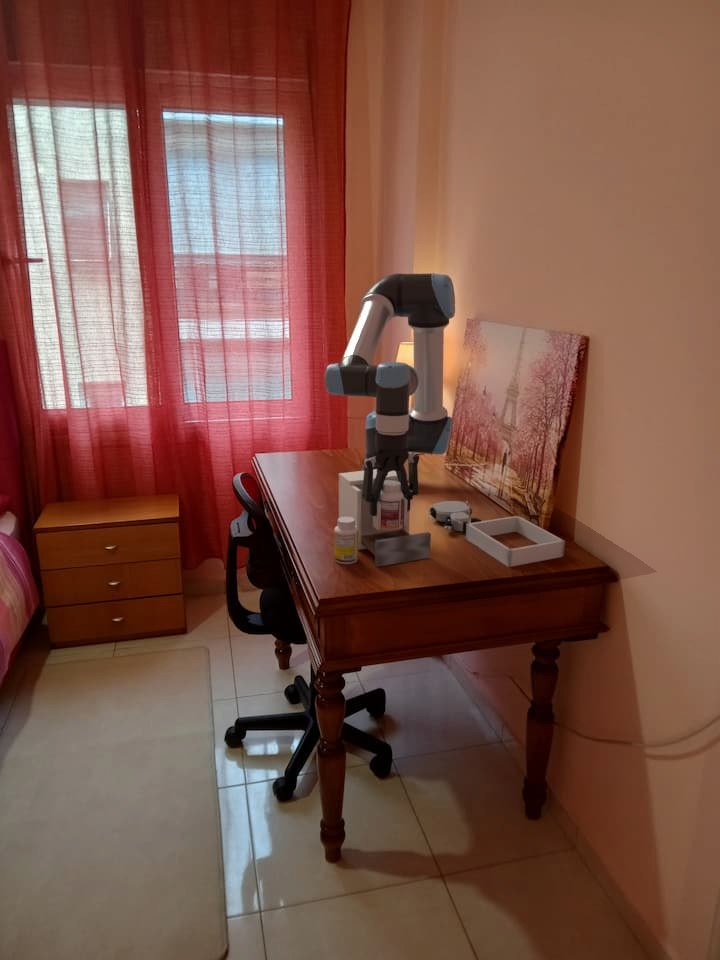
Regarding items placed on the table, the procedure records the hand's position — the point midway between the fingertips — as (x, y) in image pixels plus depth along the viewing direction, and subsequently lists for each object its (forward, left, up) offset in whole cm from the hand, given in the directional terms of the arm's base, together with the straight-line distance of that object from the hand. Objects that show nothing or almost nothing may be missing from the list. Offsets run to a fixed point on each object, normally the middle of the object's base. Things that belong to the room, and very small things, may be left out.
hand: (389, 525), depth 163 cm
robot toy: (-24, -10, -7) cm, 27 cm away
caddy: (0, -10, -7) cm, 12 cm away
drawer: (0, +2, -6) cm, 6 cm away
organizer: (-29, +9, -7) cm, 31 cm away
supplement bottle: (+12, +1, -7) cm, 13 cm away
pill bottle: (0, 0, -1) cm, 1 cm away
